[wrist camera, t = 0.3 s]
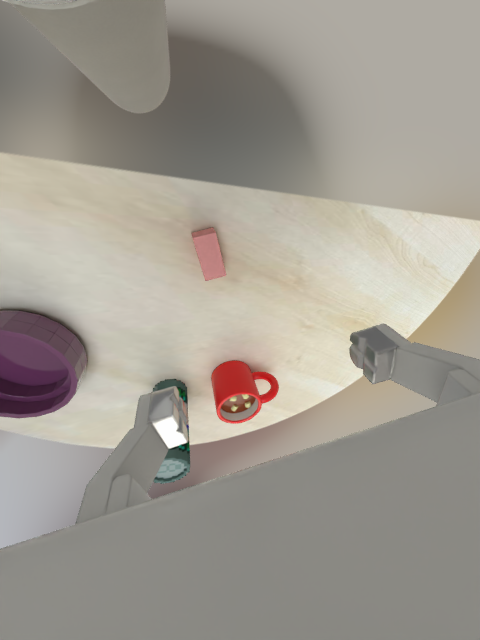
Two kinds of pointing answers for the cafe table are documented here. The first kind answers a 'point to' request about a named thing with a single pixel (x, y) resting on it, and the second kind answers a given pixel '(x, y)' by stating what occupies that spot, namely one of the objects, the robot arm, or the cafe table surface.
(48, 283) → the cafe table surface
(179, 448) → the can
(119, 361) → the cafe table surface
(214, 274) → the eraser
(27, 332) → the bowl
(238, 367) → the mug
